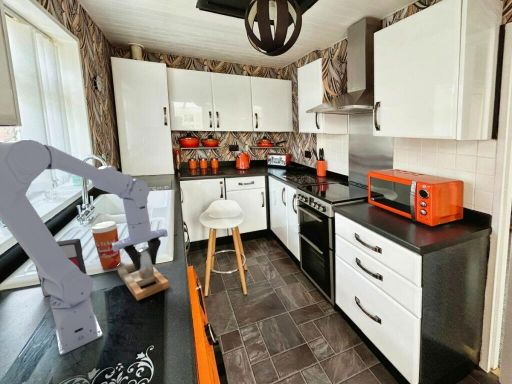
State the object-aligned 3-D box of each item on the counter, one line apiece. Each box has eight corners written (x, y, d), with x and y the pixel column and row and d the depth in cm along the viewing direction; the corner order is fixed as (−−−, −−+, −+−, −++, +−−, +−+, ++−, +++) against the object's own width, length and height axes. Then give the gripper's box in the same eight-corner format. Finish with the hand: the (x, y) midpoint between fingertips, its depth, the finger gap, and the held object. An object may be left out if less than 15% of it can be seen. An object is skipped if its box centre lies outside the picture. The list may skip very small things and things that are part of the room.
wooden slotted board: (169, 287, 79) (168, 281, 78) (137, 300, 73) (136, 294, 73) (146, 264, 94) (145, 259, 93) (118, 274, 88) (117, 268, 88)
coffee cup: (94, 272, 90) (85, 230, 87) (103, 261, 98) (95, 222, 95) (120, 268, 91) (112, 227, 88) (127, 258, 99) (121, 219, 96)
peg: (156, 275, 78) (152, 249, 76) (142, 280, 75) (137, 254, 73) (151, 270, 81) (147, 245, 79) (137, 275, 78) (133, 250, 76)
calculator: (42, 298, 77) (29, 250, 73) (49, 290, 81) (37, 244, 77) (85, 290, 79) (74, 243, 76) (89, 283, 84) (79, 238, 80)
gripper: (158, 212, 82) (164, 253, 85) (105, 225, 73) (114, 270, 76) (167, 217, 76) (173, 260, 79) (112, 231, 67) (121, 280, 70)
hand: (145, 266), depth 77 cm, fingers closed on peg, 4 cm apart
